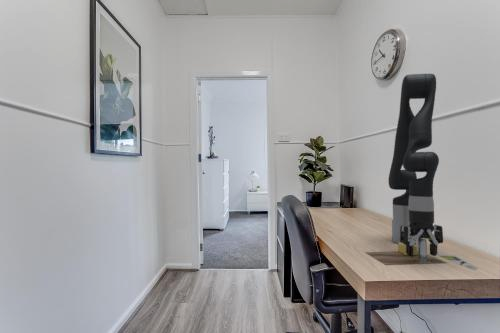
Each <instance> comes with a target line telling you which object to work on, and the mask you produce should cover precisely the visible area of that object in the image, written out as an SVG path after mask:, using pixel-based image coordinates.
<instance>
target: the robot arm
mask: <svg viewBox="0 0 500 333" xmlns="http://www.w3.org/2000/svg"><path fill="white" fill-rule="evenodd" d="M436 92H437V77H436V75H435V74H434V73H416V74H415V73H414V74H412V73H411V74H406V75H404V77H403V78H402V83H401V90H400V102H399V104H400V105H399V113H398V114H399V115H398V120H397V125H396V126H397V127H396V132H395V139H394V146H393V149H394V150H393V156H392V160H391V166H390V170H389V173H388V182H387V183H388V186H389V188H390V189H391V190H396V191H398V190H399V191H400V190H401V191H403V190H404V191H405V192H404V193H403V194H401V195H399V196H396V197H393V198H392V219H391V240H392V242H393V243H395V244H398V243H404V244H406V253H407V255H408V256H410V257H413V246H412V245H413V244H414V245H417V240H418V238H419V239H422V238H423V239H426V240H428V242H429V255H430V256H432V257H436V256H437V255H436V254H438V245H439V244H443V243H444V235H443V234H444V232H443V226H442V225H438V224H434V223H435V203H434V202H435V201H434V179H435V175H436V172H437V168H438V166H439V163H440V158H439V156H438V154H437V153H436V152H434V151H419V150H422V149H426V148H429V147H430V146H432V144H433V143H432V142H433V133H432V132H433V128H432V126H433V124H432V122H433V115H434V107H435V99H436ZM414 99H415V100H417V99H418V100H420V99H423V100H424V101H423V105H422V107H421V108H420V110H418V112H417V113H416V114H415V115H414V113H413V111H412V108H411V106H410V105H411V104H410V100H414ZM402 167H403V169H402ZM417 173H426V174H425V175H424V176H423V177H419V178H417Z"/></svg>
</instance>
